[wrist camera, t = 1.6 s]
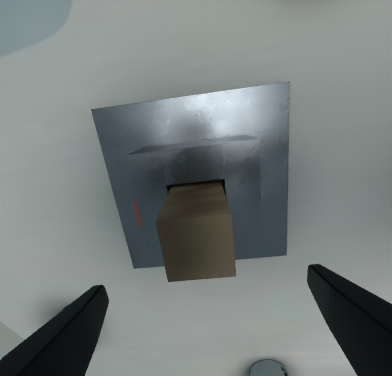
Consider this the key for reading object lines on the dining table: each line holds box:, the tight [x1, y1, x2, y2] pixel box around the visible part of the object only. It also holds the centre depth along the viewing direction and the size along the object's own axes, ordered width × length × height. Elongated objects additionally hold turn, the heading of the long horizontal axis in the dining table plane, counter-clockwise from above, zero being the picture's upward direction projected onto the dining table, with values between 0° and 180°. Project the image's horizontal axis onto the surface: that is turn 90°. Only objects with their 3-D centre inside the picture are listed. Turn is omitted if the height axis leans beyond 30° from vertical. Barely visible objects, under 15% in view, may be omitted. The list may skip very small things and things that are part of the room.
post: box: [155, 179, 236, 282], centre depth 16 cm, size 4×4×10 cm
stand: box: [91, 82, 290, 269], centre depth 19 cm, size 18×18×6 cm
